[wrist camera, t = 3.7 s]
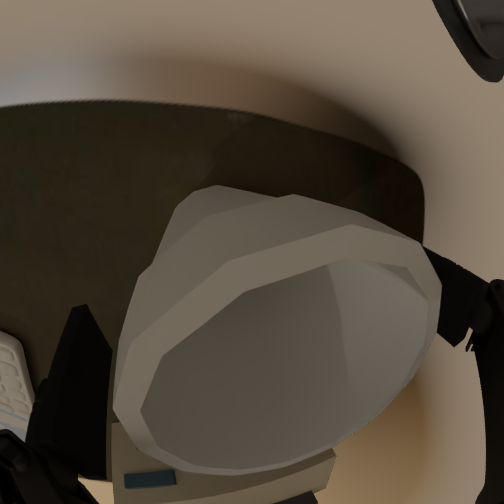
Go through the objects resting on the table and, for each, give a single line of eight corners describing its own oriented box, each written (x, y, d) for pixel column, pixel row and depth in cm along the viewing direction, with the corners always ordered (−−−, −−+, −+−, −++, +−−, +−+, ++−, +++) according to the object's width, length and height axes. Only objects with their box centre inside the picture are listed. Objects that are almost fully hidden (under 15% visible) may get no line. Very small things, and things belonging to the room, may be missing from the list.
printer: (292, 376, 26) (347, 471, 15) (296, 433, 32) (332, 499, 21) (110, 420, 22) (113, 521, 11) (162, 467, 28) (176, 538, 18)
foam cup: (116, 251, 16) (68, 440, 5) (204, 129, 15) (317, 104, 3) (229, 316, 20) (296, 474, 9) (310, 220, 19) (460, 326, 8)
